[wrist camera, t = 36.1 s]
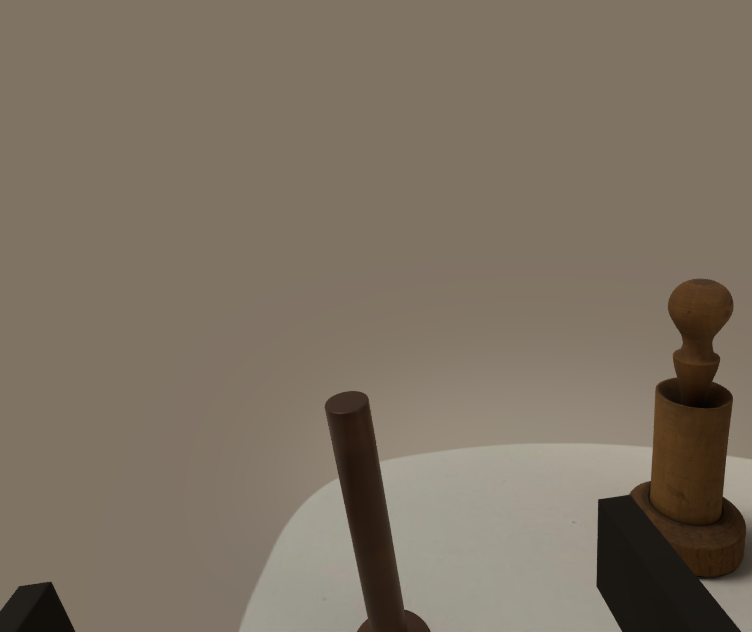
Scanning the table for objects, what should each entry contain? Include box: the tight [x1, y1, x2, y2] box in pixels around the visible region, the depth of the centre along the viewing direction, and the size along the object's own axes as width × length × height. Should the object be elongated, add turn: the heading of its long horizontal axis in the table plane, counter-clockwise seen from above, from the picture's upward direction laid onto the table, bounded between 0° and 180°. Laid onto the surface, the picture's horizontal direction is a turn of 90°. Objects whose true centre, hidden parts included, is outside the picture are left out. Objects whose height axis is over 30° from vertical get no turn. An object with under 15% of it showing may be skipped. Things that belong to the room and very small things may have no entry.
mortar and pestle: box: [629, 279, 746, 577], centre depth 29 cm, size 7×6×18 cm
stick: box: [325, 391, 430, 632], centre depth 24 cm, size 5×5×17 cm
